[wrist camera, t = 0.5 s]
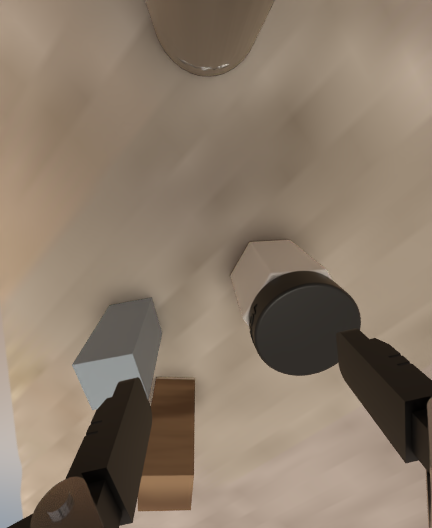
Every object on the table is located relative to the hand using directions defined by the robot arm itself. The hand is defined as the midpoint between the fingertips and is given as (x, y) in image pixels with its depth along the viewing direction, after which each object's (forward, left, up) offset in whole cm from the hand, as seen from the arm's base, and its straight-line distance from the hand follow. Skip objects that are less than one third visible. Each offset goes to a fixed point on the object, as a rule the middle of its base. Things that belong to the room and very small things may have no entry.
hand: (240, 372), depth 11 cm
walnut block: (+21, -3, -20) cm, 29 cm away
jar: (+3, +7, -20) cm, 22 cm away
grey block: (+10, -8, -20) cm, 24 cm away
